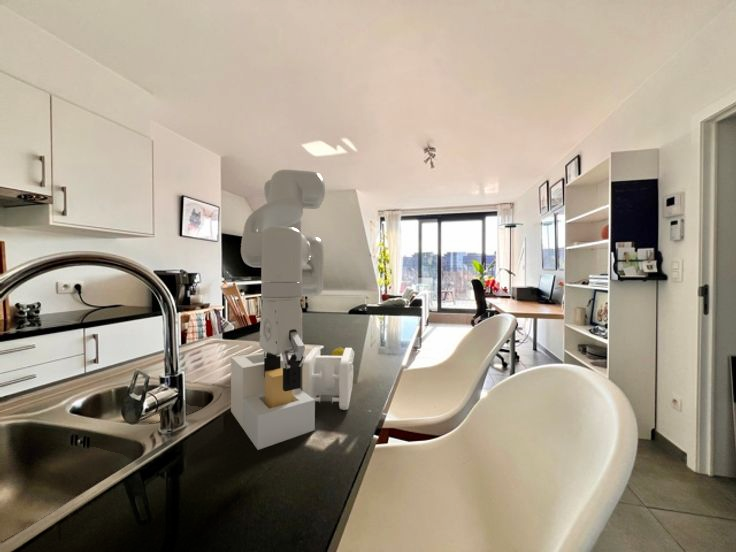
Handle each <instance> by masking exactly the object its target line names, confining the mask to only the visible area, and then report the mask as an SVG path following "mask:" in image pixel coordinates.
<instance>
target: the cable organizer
mask: <svg viewBox="0 0 736 552" xmlns="http://www.w3.org/2000/svg"><path fill="white" fill-rule="evenodd" d="M354 359H355V351H354V350H353V347H345V348H344V353H343V355H342V356H331V355H321V348H320V347H316V346H315V347H313V348H312V349H311V350H310V351H309V353H308V354H307V355H306V358H305V359H304V362H303V364H302V367H301V368H302V369H301V375H302V376H301V379H302V380H301V386H302V387H301V388H302V389H301V390H302V391H303V392H305V393H306V394H308V395H309V396H310V397H312V398H313V399H314V400H315V402H321V398H322V397H321V396H332V397H331V404H332V406H333V403H334V402H335V403H336V402H338V408H339V410H343V411H346V410H348V409H349V408H350V407H349V406H350V401H351V397H352V391H353V385H354V384H353V381H354ZM317 396H319V397H317ZM335 396H339V397H335Z"/></svg>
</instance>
